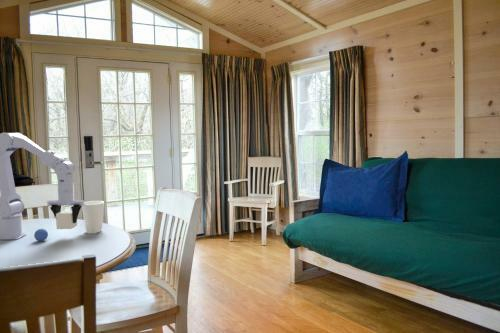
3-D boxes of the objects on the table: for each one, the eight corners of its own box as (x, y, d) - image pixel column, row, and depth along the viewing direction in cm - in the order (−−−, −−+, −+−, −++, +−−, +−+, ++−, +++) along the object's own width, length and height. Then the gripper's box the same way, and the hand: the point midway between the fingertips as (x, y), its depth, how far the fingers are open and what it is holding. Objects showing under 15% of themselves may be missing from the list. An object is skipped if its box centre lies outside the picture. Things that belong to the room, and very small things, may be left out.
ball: (32, 242, 167) (31, 230, 166) (38, 239, 172) (37, 227, 171) (44, 242, 167) (44, 230, 166) (50, 239, 172) (49, 227, 171)
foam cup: (97, 234, 179) (96, 204, 178) (78, 233, 181) (76, 204, 179) (109, 229, 188) (108, 201, 187) (90, 228, 190) (89, 200, 189)
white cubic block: (56, 229, 170) (55, 213, 169) (62, 225, 176) (62, 210, 175) (71, 228, 170) (70, 213, 169) (77, 225, 176) (76, 210, 175)
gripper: (43, 191, 167) (44, 224, 168) (79, 191, 167) (80, 224, 169) (51, 189, 174) (52, 220, 176) (86, 189, 175) (87, 220, 176)
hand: (66, 222), depth 173 cm, fingers closed on white cubic block, 6 cm apart
